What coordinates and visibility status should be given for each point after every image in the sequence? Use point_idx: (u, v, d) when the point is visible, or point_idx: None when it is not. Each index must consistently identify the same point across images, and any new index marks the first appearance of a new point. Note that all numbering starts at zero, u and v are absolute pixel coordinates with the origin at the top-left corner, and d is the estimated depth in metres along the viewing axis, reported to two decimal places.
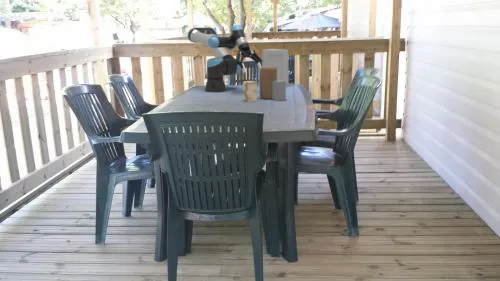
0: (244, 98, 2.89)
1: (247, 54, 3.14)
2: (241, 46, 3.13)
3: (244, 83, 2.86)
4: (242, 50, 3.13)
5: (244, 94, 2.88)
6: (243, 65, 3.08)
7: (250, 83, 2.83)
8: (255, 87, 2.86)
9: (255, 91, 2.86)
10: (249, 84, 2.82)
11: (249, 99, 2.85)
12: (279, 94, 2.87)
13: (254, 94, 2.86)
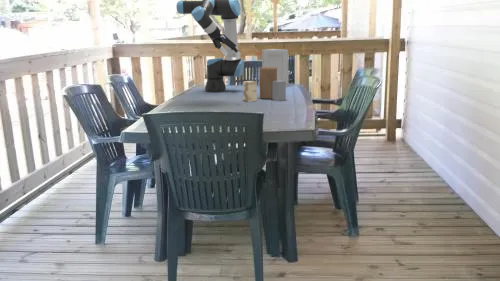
0: (244, 98, 2.89)
1: (219, 41, 2.73)
2: None
3: (244, 83, 2.86)
4: None
5: (244, 94, 2.88)
6: (221, 51, 2.83)
7: (250, 83, 2.83)
8: (255, 87, 2.86)
9: (255, 91, 2.86)
10: (249, 84, 2.82)
11: (249, 99, 2.85)
12: (279, 94, 2.87)
13: (254, 94, 2.86)
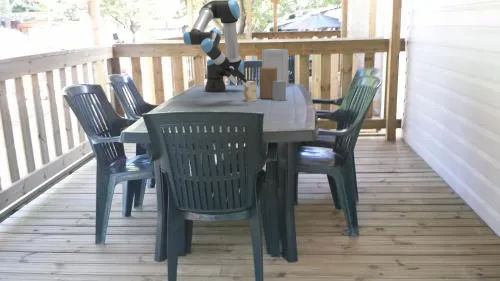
0: (244, 98, 2.89)
1: (228, 71, 2.75)
2: None
3: None
4: None
5: (244, 94, 2.88)
6: (230, 79, 2.85)
7: (250, 83, 2.83)
8: (255, 87, 2.86)
9: (255, 91, 2.86)
10: (249, 84, 2.82)
11: (249, 99, 2.85)
12: (279, 94, 2.87)
13: (254, 94, 2.86)
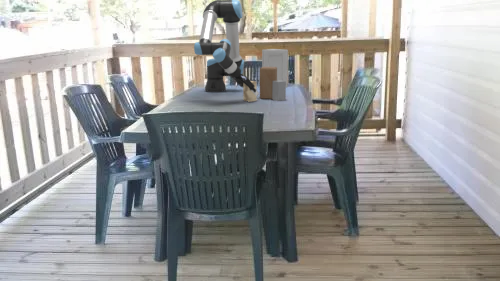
0: (244, 98, 2.89)
1: (239, 79, 2.81)
2: None
3: None
4: None
5: (244, 94, 2.88)
6: None
7: None
8: (255, 87, 2.86)
9: None
10: None
11: (249, 99, 2.85)
12: (279, 94, 2.87)
13: (254, 94, 2.86)
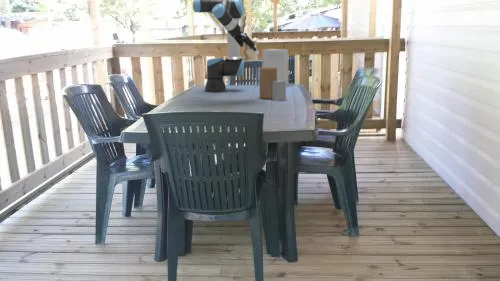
0: (243, 58, 2.82)
1: (239, 38, 2.75)
2: None
3: (244, 42, 2.79)
4: None
5: (244, 54, 2.81)
6: None
7: None
8: (255, 47, 2.79)
9: None
10: None
11: (249, 58, 2.79)
12: (279, 94, 2.87)
13: None
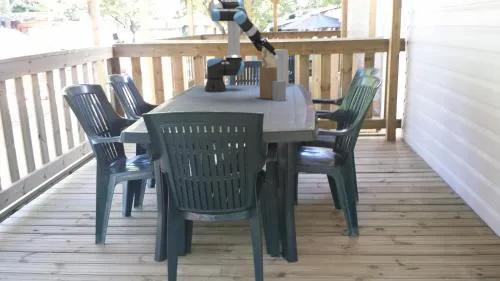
0: (262, 64, 2.94)
1: None
2: None
3: (263, 49, 2.91)
4: None
5: (263, 60, 2.93)
6: None
7: None
8: None
9: None
10: None
11: (268, 65, 2.90)
12: (279, 94, 2.87)
13: (273, 60, 2.91)
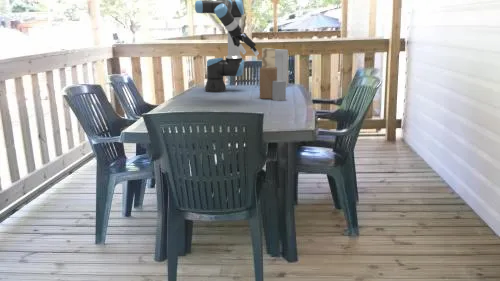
0: (262, 64, 2.94)
1: (238, 39, 2.78)
2: None
3: (263, 50, 2.91)
4: None
5: (263, 61, 2.93)
6: (239, 49, 2.89)
7: (269, 49, 2.88)
8: (274, 54, 2.91)
9: (274, 57, 2.91)
10: (268, 50, 2.88)
11: (268, 65, 2.90)
12: (279, 94, 2.87)
13: (273, 60, 2.91)
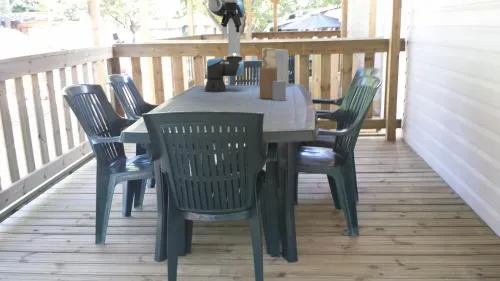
0: (262, 64, 2.94)
1: (229, 15, 2.82)
2: None
3: (263, 49, 2.91)
4: (226, 10, 2.83)
5: (263, 60, 2.93)
6: (223, 29, 2.89)
7: (269, 49, 2.88)
8: (274, 54, 2.91)
9: (274, 57, 2.91)
10: (268, 50, 2.88)
11: (268, 65, 2.90)
12: (279, 94, 2.87)
13: (273, 60, 2.91)
